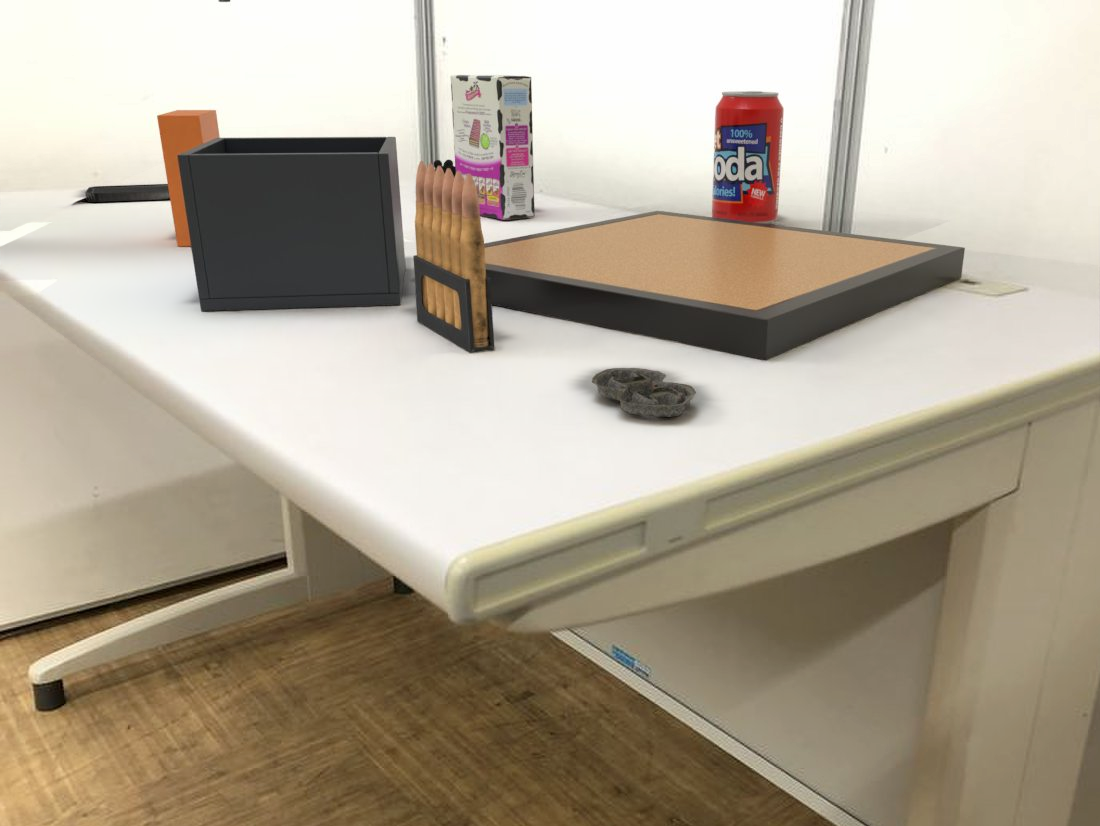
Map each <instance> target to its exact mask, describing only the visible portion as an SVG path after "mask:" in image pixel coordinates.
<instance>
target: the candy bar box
mask: <svg viewBox="0 0 1100 826" xmlns="http://www.w3.org/2000/svg"><path fill="white" fill-rule="evenodd" d="M449 78H450V92H451V111H452V112H451V113H452V114H451V115H452V130H453V131H452V133H453V150H454V151H453V152H454V166H455V173H456V172H457V171H460V172H461V174H462V176H463V178H464V181H465V178H466V175H467V174H468V173H470V174H471V176H472V178H473V180H474V183H475V187H476V190H477V195H478V201H479V212H480V217H481V216H482V217H487V218H492V219H495V220H496V219H497V220H501V221H511V220H520V219H530V218H535V216H536V214H535V183H534V182H535V178H534V177H535V176H534V145H533V140H534V137H533V136H534V132H533V95H532V94H533V92H532V91H533V90H532V76H527V75H508V74H507V75H506V74H452V75H450V77H449Z"/></svg>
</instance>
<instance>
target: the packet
mask: <svg viewBox="0 0 1100 826" xmlns="http://www.w3.org/2000/svg"><path fill="white" fill-rule="evenodd" d="M156 118H157V126H158V130H159V131H158V132H159V137H160V144H161V150H162V156H163V164H164V171H165V176H166V181H167V184H168V189H169V195H170V199H169V201H170V207H171V212H172V219H173V227H174V234H175V240H176V244H177V247H191V242H190V236H189V229H188V223H187V216H186V210H185V203H184V197H183V190H182V184H181V177H180V170H179V164H178V157H177V155H179V154H181V153H183V152H186V151H188V150H190V149H192V148H195V147H197V146H199V145H202V144H204V143H206V142H208V141H211V140H213V139H215V138H221V137H220V130H219V122H218V115H217V110H216V109H176V110H172V111H169V112H166V113H165V112H164V113H161V114H158V115H156Z"/></svg>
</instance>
